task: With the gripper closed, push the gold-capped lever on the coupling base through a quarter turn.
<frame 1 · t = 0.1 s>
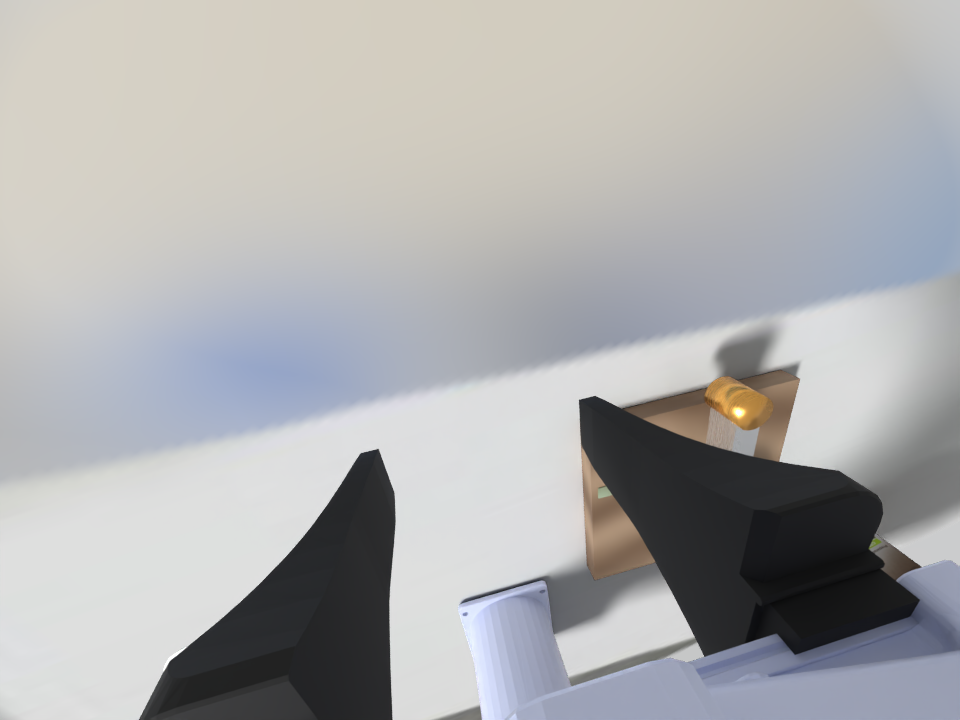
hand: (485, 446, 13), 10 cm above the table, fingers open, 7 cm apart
coffee box: (805, 537, 38), on the table
gold-capped lever: (728, 477, 24), point 5 cm above the table, hinge at 0.0°
coupling base: (675, 475, 30), on the table
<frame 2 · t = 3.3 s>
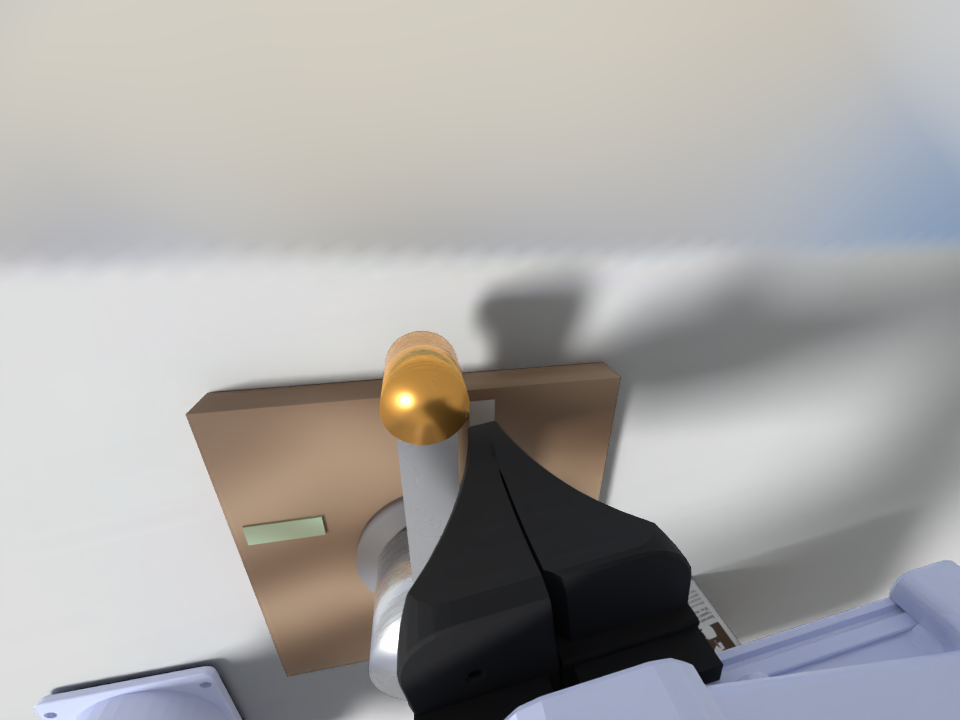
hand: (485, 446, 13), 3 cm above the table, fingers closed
coffee box: (660, 624, 27), on the table
gold-capped lever: (434, 538, 12), point 5 cm above the table, hinge at 0.1°, touching gripper
coupling base: (432, 518, 18), on the table
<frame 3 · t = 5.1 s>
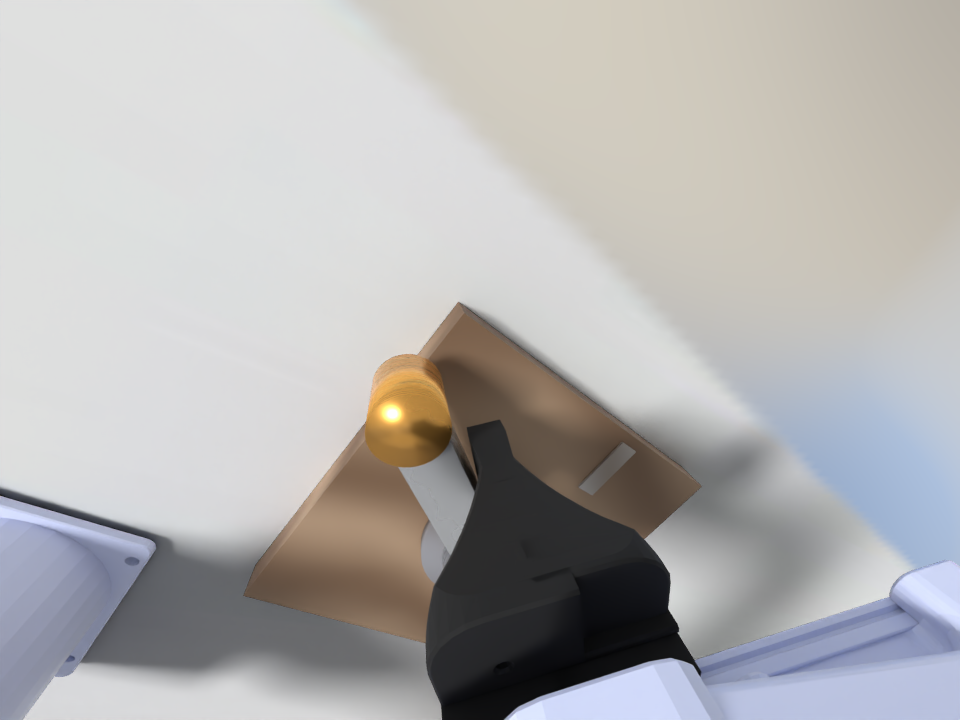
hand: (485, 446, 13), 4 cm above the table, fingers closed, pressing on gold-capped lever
gold-capped lever: (474, 538, 13), point 5 cm above the table, hinge at 58.2°, touching gripper
coupling base: (485, 512, 19), on the table
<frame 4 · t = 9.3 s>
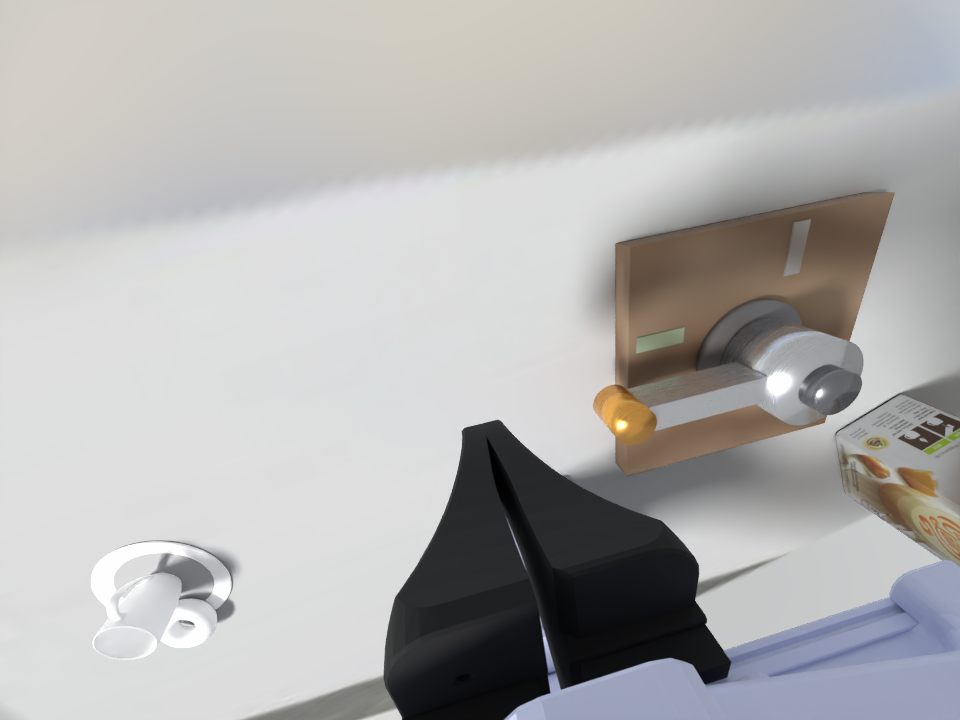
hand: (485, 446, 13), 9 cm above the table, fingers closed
coffee box: (867, 445, 32), on the table
gold-capped lever: (723, 391, 20), point 5 cm above the table, hinge at 90.5°
coupling base: (726, 342, 25), on the table
teacup and saucer: (143, 599, 26), on the table
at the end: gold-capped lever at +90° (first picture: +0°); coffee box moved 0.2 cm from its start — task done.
